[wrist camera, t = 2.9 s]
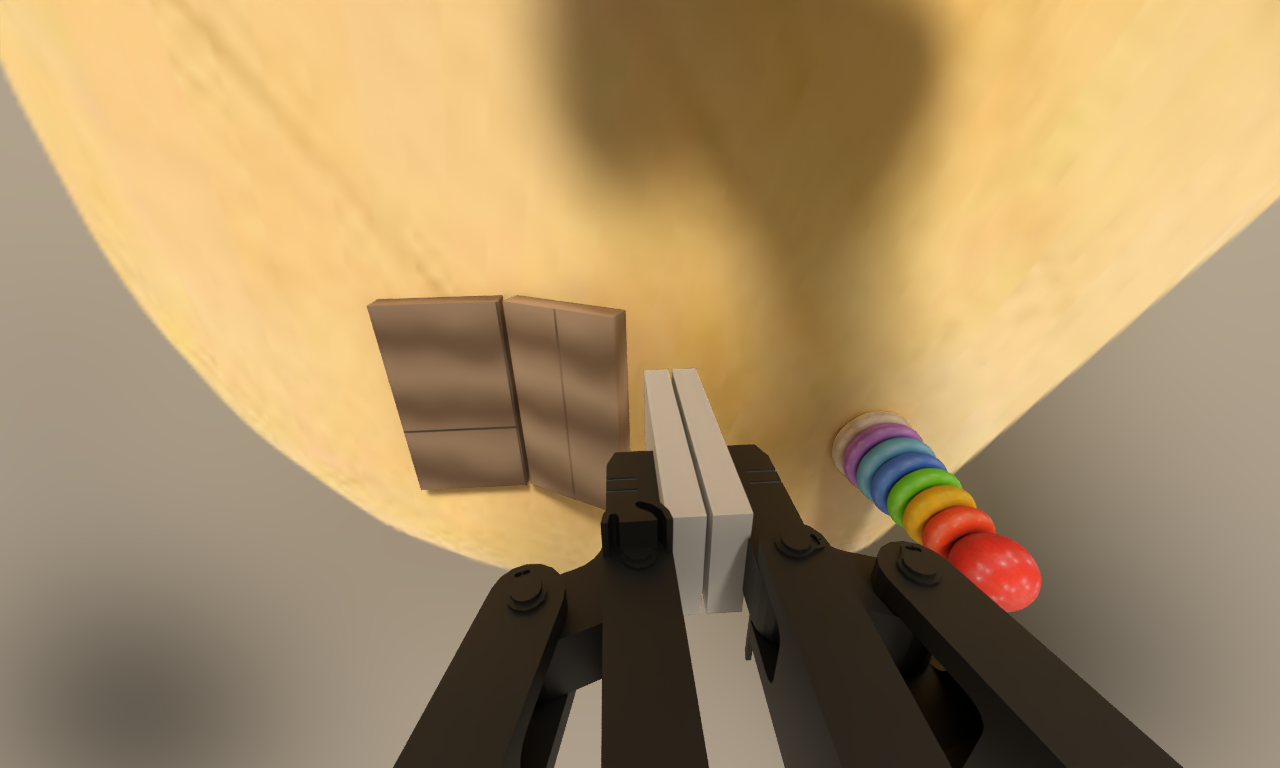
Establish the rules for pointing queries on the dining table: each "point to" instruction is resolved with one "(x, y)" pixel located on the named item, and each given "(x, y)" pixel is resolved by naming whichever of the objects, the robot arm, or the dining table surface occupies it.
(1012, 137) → the dining table surface
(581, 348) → the plank
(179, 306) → the dining table surface
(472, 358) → the panel
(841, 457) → the stacking toy
